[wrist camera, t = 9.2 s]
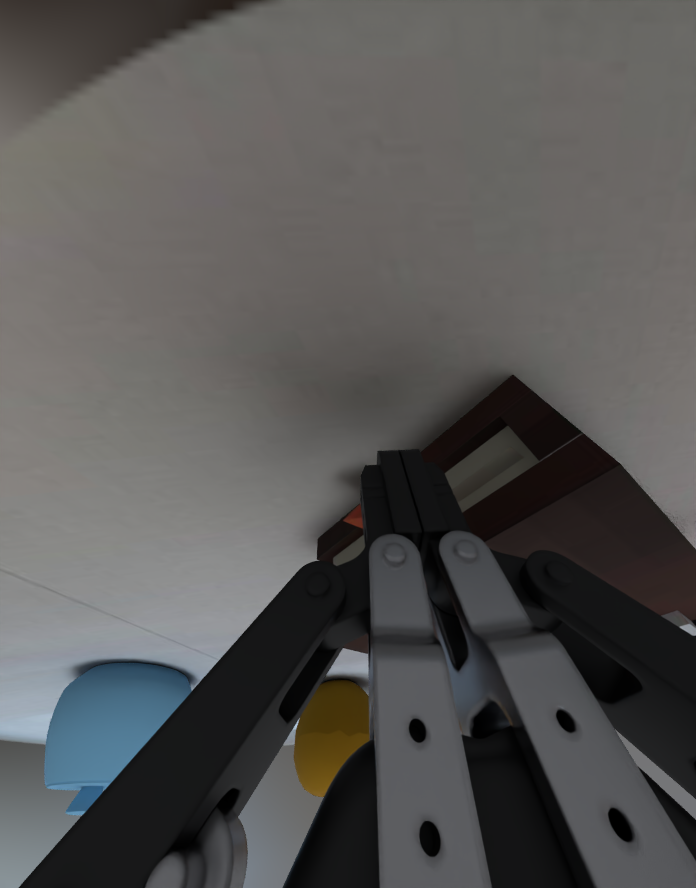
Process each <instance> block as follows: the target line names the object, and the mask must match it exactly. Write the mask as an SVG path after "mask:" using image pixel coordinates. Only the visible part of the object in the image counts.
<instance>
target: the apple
mask: <svg viewBox="0 0 696 888" xmlns="http://www.w3.org/2000/svg"><path fill="white" fill-rule="evenodd" d="M368 741H369V696H368V695H367V694H366V692H365V691H364V690H363V689H362V688H361V687H360V686H358V685H356V684H355V683H353V682H351V681H349V680H339V679H337V680H331V681H327V682H324V683H322V684H320V686H319V687H318V689H317V690H316V692H315V694H314V695H313V697H312V699H311V700H310V702H309V703H308V705H307V707H306V708H305V710H304V711H303V713H302V715H301V716H300V719H299V723H298V726H297V729H296V735H295V748H294V762H295V767H296V771H297V774H298V778H299V781H300V782H301V784H302V786H303V787H304V789H305V790H306V791H308V792H309V793H311V794H312V795H315V796H318V797H324V796H325V794H326V792H327V790H328V788H329V786H330V784H331V782H332V780H333V779H334V777H335V775H336V774H337V772H338V771H339V769H340V768H341V767H342V765H343V764H344V763H345V762H346V760H347V759H348V758H349V757H350V756H351V755H352V754H353V753H354V752H355V751H356V750H357V749H358V748H360V747H361V746H362V745H364V744H365V743H367V742H368Z"/></svg>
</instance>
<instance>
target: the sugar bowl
mask: <svg viewBox="0 0 696 888" xmlns="http://www.w3.org/2000/svg"><path fill="white" fill-rule="evenodd" d="M191 692H192V691H191V687H190V684H189V682H188V679H187V677H186V676H185V675H184V674H182V673H180V672H178V671H176V670H173V669H170V668H167V667H163V666H158V665H152V664H143V663H111V664H104V665H99V666H96V667H93V668H92V669H90V670H89V671H87V672H86V673H84V674H82V675H81V676H80V677H78V678H77V679H75V680H74V681H73V682H71V683H70V684H69V685H68V686H67V687H66V688H65V690H64V691H63V693H62V695H61V697H60V698H59V700H58V703H57V705H56V708H55V710H54V713H53V716H52V719H51V722H50V725H49V730H48V734H47V740H46V749H45V771H44V772H45V773H44V775H45V785H46V788H49V789H57V790H58V789H59V790H80V792H79V793H78V794H77V796H76V797H75V799H74V800H73V801H72V803H71V804H70V806H69V807H68V809H67V810H66V813H67V814H69V815H83V814H84V813H85V812H86V811H87V810H88V808H89V807H90V806H91V805H92V804H93V803H94V802H95V800H96V799H97V798H98V797H99V796H100V795H101V794H102V791H103V790H105V789H106V788H107V787H108V786H109V785H110V783H111V782H112V781H113V780H114V779H115V778H116V777H117V776H118V774H119V773H120V772H121V771H122V770H123V769H124V768H125V766H126V765H127V764H128V763H129V762H130V761H131V760H132V759H133V757H134V756H135V755H136V754H137V753H138V752H139V751H140V749H141V748H142V747H143V746H144V745H145V744H146V743H147V742H148V740H149V739H150V738H151V737H152V736H153V735H154V734H155V733H156V731H157V730H158V729H159V728H160V727H161V726H162V725H163V723H164V722H165V721H166V720H167V719H168V718H169V717H170V716H171V714H172V713H173V712H174V711H175V710H176V709H177V708H178V706H179V705H180V704H181V703H182V702H183V701H184V700H185V699H186V697H187V696H188V695H189V694H190V693H191Z"/></svg>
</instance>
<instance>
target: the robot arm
mask: <svg viewBox="0 0 696 888" xmlns="http://www.w3.org/2000/svg"><path fill="white" fill-rule="evenodd" d="M361 513H362V523H363V533H364V543H365V548H364V550H363V551H362V552H361V553H360V554H359V555H358V556H357V557H356V558H354V559H352V560H350V561H348V562H345V563H343V564H340V565H338V566H336V565H334V564H332V563H330V562H327V561H314V562H311V563H308V564H306V565H305V566H303V567H302V568H301V569H300V570H299V571H298V572H297V573H296V574H295V575H294V576H293V577H292V578H291V580H290V581H289V582H288V583H287V584H286V585H285V586H284V588H283V589H282V590H281V591H280V592H279V593H278V594H277V595H276V597H275V598H274V599H273V600H272V601H271V602H270V603H269V605H268V606H267V607H266V608H265V609H264V610H263V611H262V612H261V614H260V615H259V616H258V617H257V618H256V619H255V620H254V622H253V623H252V624H251V625H250V626H249V627H248V628H247V629H246V631H245V632H244V633H243V634H242V635H241V636H240V637H239V639H238V640H237V641H236V642H235V643H234V644H233V645H232V646H231V648H230V649H229V650H228V651H227V652H226V653H225V654H224V655H223V657H222V658H221V659H220V660H219V661H218V662H217V663H216V665H215V666H214V667H213V668H212V669H211V670H210V671H209V672H208V674H207V675H206V676H205V677H204V678H203V679H202V680H201V682H200V683H199V684H198V685H197V686H196V687H195V688H194V689H193V691H192V692H191V693H190V694H189V695H188V696H187V697H186V699H185V700H184V701H183V702H182V703H181V704H180V705H179V706H178V708H177V709H176V710H175V711H174V712H173V713H172V714H171V716H170V717H169V718H168V719H167V720H166V721H165V722H164V723H163V725H162V726H161V727H160V728H159V729H158V730H157V731H156V733H155V734H154V735H153V736H152V737H151V738H150V739H149V740H148V742H147V743H146V744H145V745H144V746H143V747H142V748H141V749H140V751H139V752H138V753H137V754H136V755H135V756H134V757H133V759H132V760H131V761H130V762H129V763H128V764H127V765H126V766H125V768H124V769H123V770H122V771H121V772H120V773H119V774H118V776H117V777H116V778H115V779H114V780H113V781H112V782H111V783H110V785H109V786H108V787H107V788H106V789H105V790H104V791H103V793H102V794H101V795H100V796H99V797H98V798H97V799H96V800H95V802H94V803H93V804H92V805H91V806H90V807H89V808H88V810H87V811H86V812H85V813H84V814H83V815H82V816H81V817H80V819H79V820H78V821H77V822H76V823H75V825H73V826H72V828H71V829H70V830H69V831H68V832H67V833H66V834H65V836H64V837H63V838H62V839H61V840H60V841H59V842H58V843H57V845H56V846H55V847H54V848H53V849H52V850H51V851H50V853H49V854H48V855H47V856H46V857H45V858H44V859H43V860H42V862H41V863H40V864H39V865H38V866H37V867H36V868H35V870H34V871H33V872H32V873H31V874H30V875H29V876H28V878H27V879H26V880H25V881H24V882H23V883H22V884H21V886H20V887H19V888H243V884H244V879H245V875H246V868H247V854H248V851H247V840H246V834H245V831H244V828H243V825H242V823H241V821H240V820H239V818H238V816H239V815H240V813H241V811H242V810H243V808H244V806H245V805H246V803H247V802H248V800H249V798H250V797H251V795H252V794H253V792H254V790H255V789H256V787H257V786H258V784H259V782H260V781H261V779H262V777H263V776H264V774H265V773H266V771H267V769H268V768H269V766H270V765H271V763H272V761H273V760H274V758H275V756H276V755H277V753H278V752H279V750H280V748H281V747H282V745H283V744H284V742H285V740H286V739H287V737H288V736H289V734H290V732H291V731H292V729H293V728H294V726H295V724H296V723H297V721H298V719H299V718H300V716H301V715H302V713H303V711H304V710H305V708H306V707H307V705H308V703H309V702H310V700H311V699H312V697H313V695H314V694H315V692H316V690H317V689H318V687H319V686H320V684H321V682H322V681H323V679H324V678H325V676H326V674H327V673H328V671H329V669H330V668H331V666H332V665H333V663H334V661H335V660H336V658H337V657H338V655H339V653H340V652H341V650H342V649H343V647H344V645H345V644H347V643H349V642H351V641H353V640H355V639H357V638H360V637H362V636H364V635H366V634H368V667H369V741H368V742H367V743H365V744H364V745H362V746H361V747H360V748H358V749H357V750H356V751H355V752H354V753H353V754H352V755H351V756H350V757H349V758H348V759H347V760H346V762H345V763H344V764H343V765H342V767H341V768H340V769H339V771H338V772H337V774H336V775H335V777H334V779H333V780H332V782H331V784H330V786H329V788H328V790H327V792H326V794H325V796H324V798H323V800H322V802H321V805H320V807H319V809H318V811H317V813H316V816H315V818H314V820H313V823H312V824H311V827H310V829H309V831H308V833H307V835H306V838H305V840H304V842H303V844H302V846H301V848H300V851H299V853H298V855H297V857H296V859H295V862H294V864H293V866H292V868H291V871H290V872H289V875H288V877H287V879H286V881H285V883H284V886H283V888H696V820H695V819H694V818H693V817H692V816H691V815H690V814H689V813H688V812H687V811H686V810H685V809H684V808H682V807H681V806H680V805H679V804H678V803H677V802H676V801H675V800H674V799H673V798H672V797H671V796H670V795H669V794H667V793H666V792H665V791H664V790H663V789H662V788H661V787H660V786H659V785H658V784H657V783H656V782H655V781H653V780H652V779H651V778H650V777H649V776H648V775H647V774H646V773H645V772H644V771H642V770H641V769H640V768H639V767H638V766H637V765H636V763H635V762H634V760H633V759H632V757H631V755H630V754H629V752H628V750H627V749H626V747H625V745H624V744H623V742H622V741H621V739H620V738H619V736H618V734H617V732H616V731H615V729H616V730H617V731H618V732H619V733H620V734H621V735H622V736H624V737H625V738H626V739H627V740H628V741H629V742H631V743H632V744H633V745H634V746H635V747H636V748H637V749H639V750H640V751H641V752H642V753H643V754H645V755H646V756H647V757H648V758H649V759H650V760H651V761H652V762H654V763H655V764H656V765H657V766H658V767H659V768H661V769H662V770H663V771H664V772H665V773H666V774H667V775H669V776H670V777H671V778H672V779H673V780H674V781H676V782H677V783H678V784H679V785H680V786H681V787H683V788H684V789H685V790H686V791H687V792H688V793H690V794H691V795H692V796H693V797H694V798H695V799H696V637H694V636H693V635H691V634H690V633H688V632H686V631H685V630H683V629H681V628H680V627H678V626H677V625H675V624H673V623H672V622H670V621H668V620H667V619H665V618H664V617H662V616H660V615H659V614H657V613H656V612H654V611H652V610H651V609H649V608H647V607H646V606H644V605H643V604H641V603H639V602H638V601H636V600H635V599H633V598H631V597H630V596H628V595H626V594H625V593H623V592H622V591H620V590H618V589H617V588H615V587H613V586H612V585H610V584H609V583H607V582H605V581H604V580H602V579H601V578H599V577H597V576H596V575H594V574H592V573H591V572H589V571H588V570H586V569H584V568H583V567H581V566H579V565H578V564H576V563H575V562H573V561H571V560H570V559H568V558H566V557H565V556H563V555H561V554H558V553H556V552H553V551H548V550H538V551H535V552H533V553H531V554H530V555H529V556H528V558H527V559H525V558H521V557H517V556H513V555H509V554H504V553H501V552H497V551H495V550H492V549H490V548H489V547H488V546H487V545H486V543H485V542H484V541H483V540H481V539H480V538H479V537H477V536H476V535H474V534H472V532H471V530H470V528H469V526H468V524H467V522H466V519H465V517H464V515H463V513H462V511H461V508H460V506H459V504H458V502H457V500H456V497H455V495H454V494H453V491H452V489H451V486H450V485H449V482H448V480H447V478H446V475H445V473H444V471H443V470H441V469H440V468H439V467H438V466H437V465H436V464H435V463H434V462H428V463H424V460H423V458H422V455H421V452H420V450H419V449H411V450H391V451H378V453H377V465H365V467H364V469H363V472H362V474H361ZM424 577H425V579H424ZM425 581H426V585H427V589H426V585H425ZM432 621H433V623H432ZM433 624H434V628H435V631H436V634H437V637H438V639H437V638H436V636H435V632H434V628H433ZM459 725H460V726H459ZM460 728H461V731H462V734H461V731H460Z"/></svg>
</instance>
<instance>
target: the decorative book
mask: <svg viewBox="0 0 696 888" xmlns="http://www.w3.org/2000/svg"><path fill="white" fill-rule="evenodd" d="M421 455H422V458H423V460H424V463H428V462H434V463H435V464H436V465H437V466H438V467H439V468H440V469H441V470H443V471H444V473H445V475H446V478H447V480H448V482H449V485H450V486H451V489H452V491H453V494H454V495H455V497H456V500H457V502H458V504H459V506H460V508H461V511H462V513H463V515H464V517H465V519H466V522H467V524H468V526H469V528H470V530H471V532H472V534H474V535H476V536H477V537H479V538H480V539H481V540H483V541H484V542H485V543H486V545H487V546H488V547H489V548H490V549H492V550H495V551H497V552H501V553H504V554H509V555H513V556H517V557H521V558H525V559H527V558H528V556H529V555H530V554H531V553H533V552H535V551H538V550H548V551H553V552H556V553H558V554H561V555H563V556H565V557H566V558H568V559H570V560H571V561H573V562H575V563H576V564H578V565H579V566H581V567H583V568H584V569H586V570H588V571H589V572H591V573H592V574H594V575H596V576H597V577H599V578H601V579H602V580H604V581H605V582H607V583H609V584H610V585H612V586H613V587H615V588H617V589H618V590H620V591H622V592H623V593H625V594H626V595H628V596H630V597H631V598H633V599H635V600H636V601H638V602H639V603H641V604H643V605H644V606H646V607H647V608H649V609H651V610H652V611H654V612H656V613H657V614H659V615H660V616H662V617H664V618H665V619H667V620H668V621H670V622H672V623H673V624H675V625H677V626H678V627H680V628H681V629H683V630H685V631H686V632H688V633H690V634H691V635H693V636H694V637H696V549H695V548H694V547H693V546H692V545H691V544H690V542H689V541H688V540H687V539H686V538H685V537H684V536H683V534H682V533H681V532H680V531H679V530H678V529H677V528H676V527H675V525H674V524H673V523H672V522H671V521H670V520H669V519H668V517H667V516H666V515H665V514H664V513H663V512H662V511H661V509H660V508H659V507H658V506H657V505H656V504H655V503H654V502H653V500H652V499H651V498H650V497H649V496H648V495H647V494H646V492H645V491H644V490H643V489H642V488H641V487H640V486H639V484H638V483H637V482H636V481H635V480H634V479H633V478H632V476H631V475H630V474H629V473H628V472H627V471H626V470H625V469H624V467H623V466H622V465H621V464H620V463H619V462H617V461H616V460H615V459H614V458H613V457H611V456H610V455H609V454H608V453H607V452H605V451H604V450H603V449H602V448H601V447H599V446H598V445H597V444H596V443H595V442H593V441H592V440H591V439H590V438H589V437H587V436H586V435H585V434H584V433H582V432H581V431H580V430H579V429H578V428H576V427H575V426H574V425H573V424H572V423H570V422H569V421H568V420H567V419H566V418H564V417H563V416H562V415H561V414H560V413H558V412H557V411H556V410H555V409H554V408H552V407H551V406H550V405H549V404H548V403H546V402H545V401H544V400H543V399H542V398H540V397H539V396H538V395H537V394H536V393H534V392H533V391H532V390H531V389H530V388H528V387H527V386H526V385H525V384H524V383H522V382H521V381H520V380H519V379H518V378H516V377H515V376H514V375H512V376H511V377H510V378H509V379H508V380H506V381H505V382H504V383H503V384H502V385H500V386H499V387H498V388H497V389H496V390H494V391H493V392H492V393H491V394H490V395H489V396H487V397H486V398H485V399H484V400H483V401H481V402H480V403H479V404H478V405H477V406H475V407H474V408H473V409H472V410H471V411H469V412H468V413H467V414H466V415H465V416H464V417H462V418H461V419H460V420H459V421H458V422H456V423H455V424H454V425H453V426H452V427H450V428H449V429H448V430H447V431H446V432H445V433H443V434H442V435H441V436H440V437H439V438H437V439H436V440H435V441H434V442H433V443H431V444H430V445H429V446H428V447H427V448H426V449H424V450H423V451H422V452H421ZM364 548H365V543H364V533H363V523H362V513H361V503H360V504H359V505H358V506H357V507H355V508H354V509H353V510H352V511H351V512H349V513H348V514H347V515H346V516H345V517H344V518H342V519H341V520H340V521H339V522H338V523H336V524H335V525H334V526H333V527H332V528H330V529H329V530H328V531H327V532H326V533H324V534H323V535H322V536H321V537H320V538H319V539H318V547H317V560H320V561H327V562H330V563H332V564H334V565H336V566H338V565H340V564H343V563H345V562H348V561H350V560H352V559H354V558H356V557H357V556H358V555H359V554H360V553H361V552H362V551H363V550H364ZM424 579H425V577H424ZM425 585H426V581H425ZM426 589H427V585H426ZM432 623H433V621H432ZM433 628H434V624H433ZM434 632H435V636H436V638H437V639H438V637H437V634H436V631H435V628H434ZM343 648H346V649H350V650H354V651H358V652H362V653H366V654H368V634H366V635H364V636H362V637H360V638H357V639H355V640H353V641H351V642H349V643H347V644H345V645H344V647H343Z"/></svg>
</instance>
